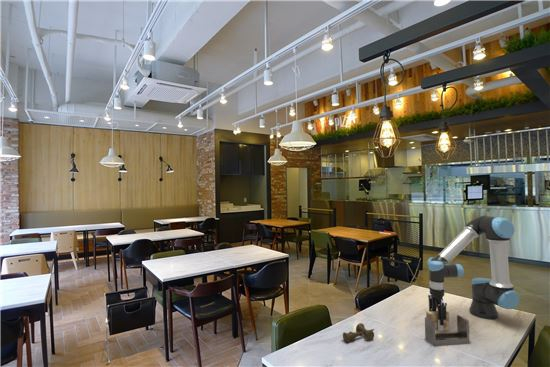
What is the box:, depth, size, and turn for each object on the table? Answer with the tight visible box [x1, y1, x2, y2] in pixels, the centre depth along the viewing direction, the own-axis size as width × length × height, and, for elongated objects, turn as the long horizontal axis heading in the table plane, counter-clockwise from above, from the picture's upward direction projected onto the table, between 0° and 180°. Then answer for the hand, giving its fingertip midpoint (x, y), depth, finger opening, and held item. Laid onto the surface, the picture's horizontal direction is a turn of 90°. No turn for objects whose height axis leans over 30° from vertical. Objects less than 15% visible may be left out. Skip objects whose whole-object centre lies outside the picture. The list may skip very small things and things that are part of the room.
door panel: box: [425, 310, 450, 332], centre depth 169 cm, size 12×3×10 cm, turn 96°
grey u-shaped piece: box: [424, 314, 470, 347], centre depth 156 cm, size 20×7×12 cm, turn 96°
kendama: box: [342, 322, 375, 344], centre depth 160 cm, size 6×10×20 cm
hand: (437, 327), depth 169 cm, fingers open, 4 cm apart
